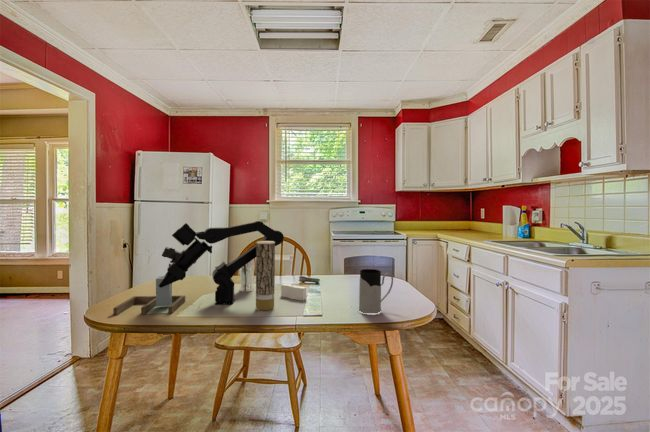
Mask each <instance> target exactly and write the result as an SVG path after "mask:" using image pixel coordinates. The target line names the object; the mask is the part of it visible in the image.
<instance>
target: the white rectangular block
mask: <svg viewBox="0 0 650 432" xmlns="http://www.w3.org/2000/svg"><path fill="white" fill-rule="evenodd" d="M280 290H281V291H280V296H281V297H284V298H288V299H292V300H299V301H305V300H306V299H307V286H298V285H294V284H289V283H283V284H281V285H280ZM304 299H305V300H304Z"/></svg>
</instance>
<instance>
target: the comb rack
mask: <svg viewBox="0 0 650 432" xmlns="http://www.w3.org/2000/svg"><path fill="white" fill-rule="evenodd" d="M184 303H186V295H183V294H182V295H172V303H171V305H170V306H158V307H156V295H134V296H132V297H130V298H128V299H127V300H125V301H123V302H121V303H120V304H118V305H116V306H115V307H113V316H118V315H120V314H121V313H123V312H125V311H126V310H128V309H129V308H131V307H133V306H135V304H144V305H143V306H141V307H140V308H141V309H140V312H141V314H140V315H142V316H143V315H162V314H163V315H166V314H167V315H173V314H174V313H175V312H176V311H177V310H178V309H179V308H180V307H181V306H183V305H184ZM132 305H133V306H132Z"/></svg>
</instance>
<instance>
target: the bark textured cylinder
mask: <svg viewBox="0 0 650 432" xmlns="http://www.w3.org/2000/svg"><path fill="white" fill-rule="evenodd" d="M255 245H256V258H255V262H256V263H255V308H256V309H257V310H258V311H263V312H264V311H271V310H273V309H274V308H275V281H276V280H275V279H276V278H275V277H276V275H275V269H276V268H275V267H276V264H275V262H276V256H275V255H276V246H275V242H274V241H261V240H258V241H256V243H255Z"/></svg>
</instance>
